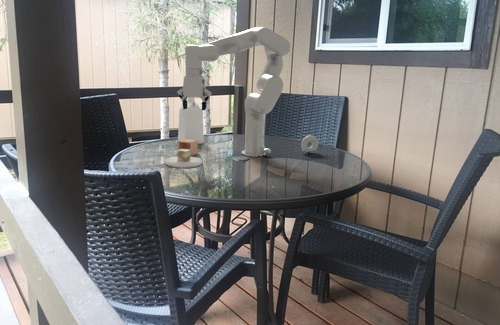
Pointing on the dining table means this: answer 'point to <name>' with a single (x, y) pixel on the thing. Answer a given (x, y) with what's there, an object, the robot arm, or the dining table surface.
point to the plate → (179, 164)
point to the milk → (191, 122)
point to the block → (183, 155)
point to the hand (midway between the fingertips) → (194, 109)
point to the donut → (305, 142)
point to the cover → (188, 145)
